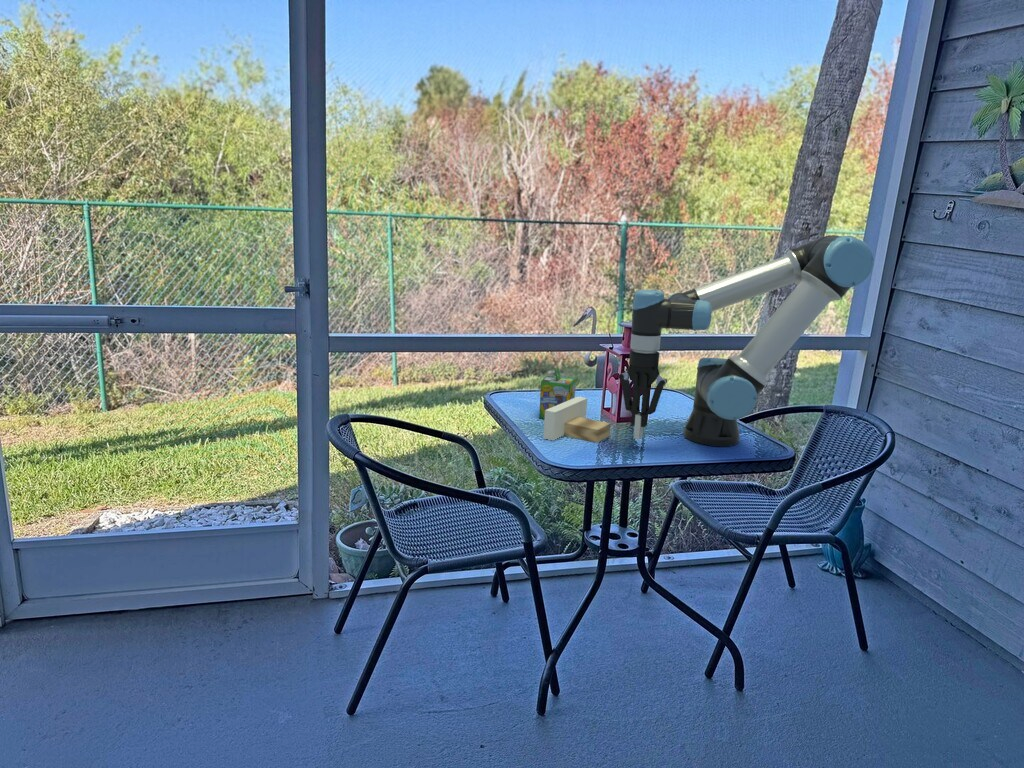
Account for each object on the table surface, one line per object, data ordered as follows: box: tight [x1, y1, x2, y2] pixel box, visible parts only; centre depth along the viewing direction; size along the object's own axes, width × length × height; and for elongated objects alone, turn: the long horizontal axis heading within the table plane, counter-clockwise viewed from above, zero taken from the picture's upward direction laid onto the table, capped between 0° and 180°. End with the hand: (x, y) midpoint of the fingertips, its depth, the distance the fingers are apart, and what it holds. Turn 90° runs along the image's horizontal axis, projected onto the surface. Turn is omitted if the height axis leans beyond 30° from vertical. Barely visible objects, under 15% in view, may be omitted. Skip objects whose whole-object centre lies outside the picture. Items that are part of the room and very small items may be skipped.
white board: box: [542, 396, 588, 442], centre depth 205 cm, size 3×20×8 cm, turn 149°
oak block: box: [564, 417, 611, 444], centre depth 203 cm, size 10×8×4 cm
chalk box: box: [538, 366, 577, 420], centre depth 219 cm, size 9×9×15 cm
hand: (638, 437), depth 195 cm, fingers closed
